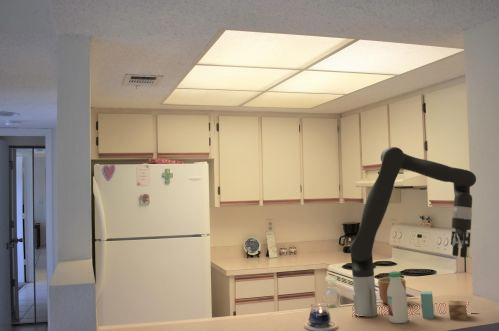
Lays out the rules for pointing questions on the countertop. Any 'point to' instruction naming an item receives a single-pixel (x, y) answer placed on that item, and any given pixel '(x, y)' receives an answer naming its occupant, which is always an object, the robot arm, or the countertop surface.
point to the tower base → (458, 316)
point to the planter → (386, 287)
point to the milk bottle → (397, 299)
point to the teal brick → (427, 304)
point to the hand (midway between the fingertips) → (459, 256)
